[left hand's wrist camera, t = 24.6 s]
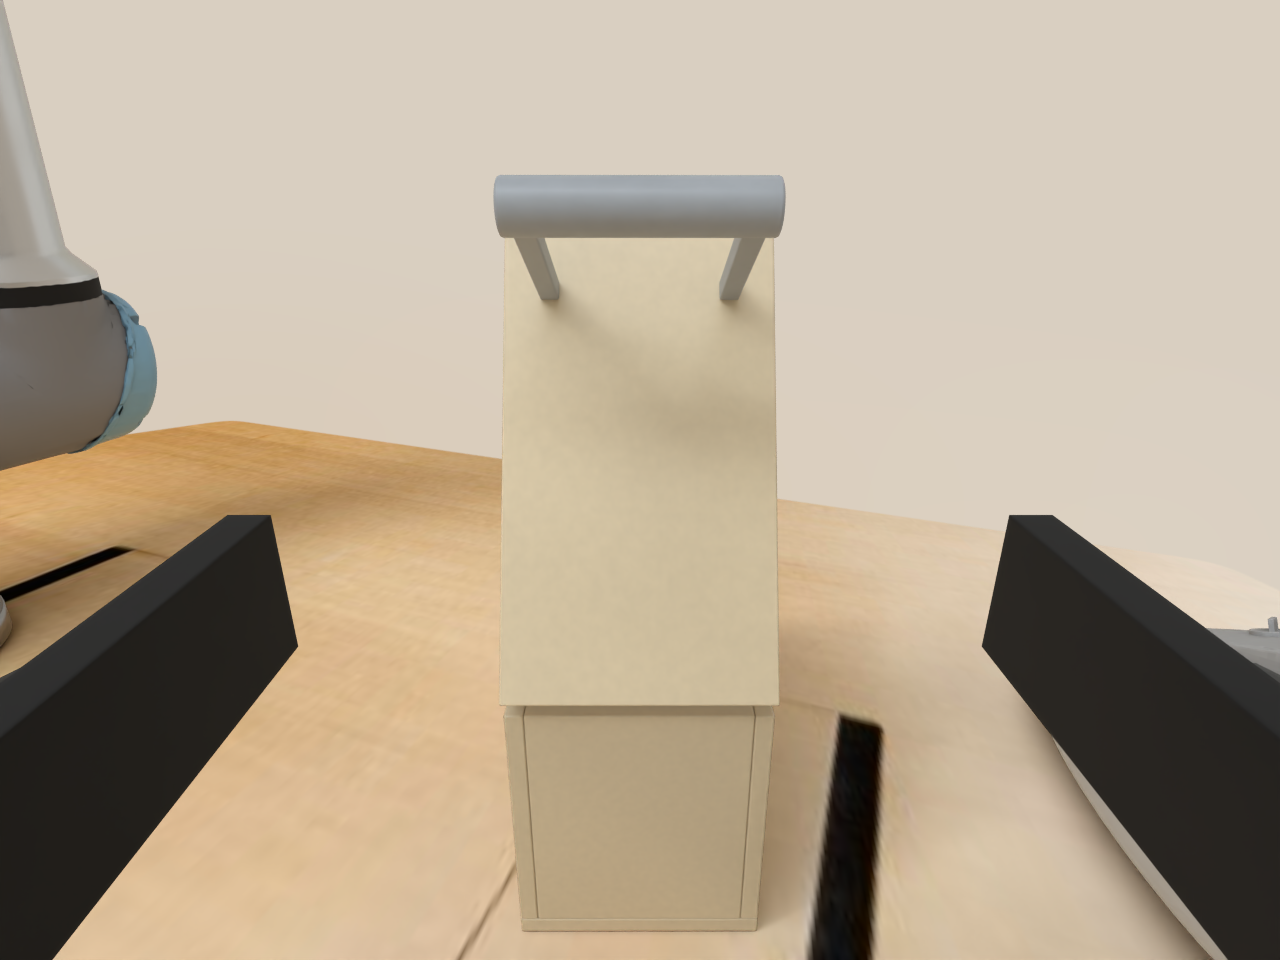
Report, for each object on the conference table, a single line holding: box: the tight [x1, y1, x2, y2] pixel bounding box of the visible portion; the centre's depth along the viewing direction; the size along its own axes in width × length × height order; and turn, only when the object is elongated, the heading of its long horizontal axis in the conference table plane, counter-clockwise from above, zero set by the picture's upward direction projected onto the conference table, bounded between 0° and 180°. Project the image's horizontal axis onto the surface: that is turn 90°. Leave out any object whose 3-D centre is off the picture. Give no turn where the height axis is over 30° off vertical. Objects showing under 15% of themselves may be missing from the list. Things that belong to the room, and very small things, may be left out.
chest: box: [504, 706, 775, 931], centre depth 35 cm, size 17×10×11 cm, turn 0°
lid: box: [494, 175, 785, 706], centre depth 22 cm, size 18×10×9 cm
